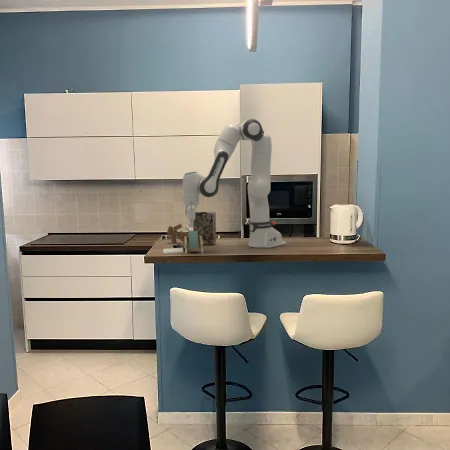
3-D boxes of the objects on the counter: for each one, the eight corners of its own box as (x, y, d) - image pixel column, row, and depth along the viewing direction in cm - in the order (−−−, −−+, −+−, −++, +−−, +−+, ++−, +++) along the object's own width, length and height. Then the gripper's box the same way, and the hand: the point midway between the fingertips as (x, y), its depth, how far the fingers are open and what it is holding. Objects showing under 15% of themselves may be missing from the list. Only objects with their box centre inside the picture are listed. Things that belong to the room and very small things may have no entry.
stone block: (217, 243, 289) (215, 210, 286) (214, 245, 282) (213, 212, 279) (196, 243, 292) (194, 210, 289) (193, 245, 285) (191, 212, 282)
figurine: (185, 249, 293) (164, 239, 296) (186, 248, 296) (165, 239, 299) (192, 230, 290) (170, 220, 293) (193, 229, 292) (172, 219, 295)
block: (189, 246, 271) (188, 230, 270) (198, 246, 272) (197, 230, 271) (189, 248, 267) (188, 232, 265) (198, 247, 267) (197, 231, 266)
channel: (185, 248, 277) (184, 236, 276) (202, 247, 278) (201, 235, 277) (185, 254, 260) (184, 241, 259) (203, 253, 261) (202, 240, 260)
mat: (163, 250, 274) (163, 248, 274) (183, 249, 275) (183, 247, 275) (163, 254, 263) (162, 252, 263) (183, 252, 264) (183, 251, 264)
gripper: (197, 202, 255) (198, 228, 257) (196, 199, 276) (196, 223, 278) (185, 203, 255) (186, 228, 257) (185, 199, 275) (186, 223, 277)
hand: (191, 226), depth 267 cm, fingers open, 8 cm apart
